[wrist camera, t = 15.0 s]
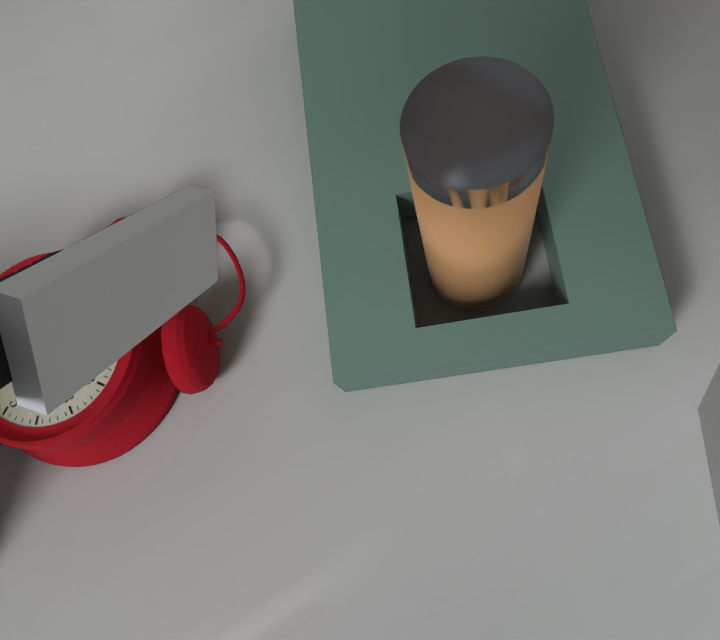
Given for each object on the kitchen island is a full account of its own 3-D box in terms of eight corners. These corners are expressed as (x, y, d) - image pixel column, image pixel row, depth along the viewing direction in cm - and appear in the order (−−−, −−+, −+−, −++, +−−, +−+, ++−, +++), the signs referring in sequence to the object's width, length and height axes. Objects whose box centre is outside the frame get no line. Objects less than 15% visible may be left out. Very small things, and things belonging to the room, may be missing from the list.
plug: (422, 233, 30) (390, 74, 19) (513, 216, 30) (537, 42, 18) (436, 318, 29) (410, 203, 17) (531, 302, 28) (569, 172, 17)
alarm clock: (-96, 320, 30) (125, 133, 27) (17, 337, 36) (211, 184, 32) (-44, 519, 27) (218, 335, 23) (72, 502, 32) (295, 352, 29)
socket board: (303, 12, 35) (290, -23, 33) (554, -48, 33) (560, -90, 31) (345, 391, 29) (333, 382, 26) (659, 345, 27) (677, 330, 24)
